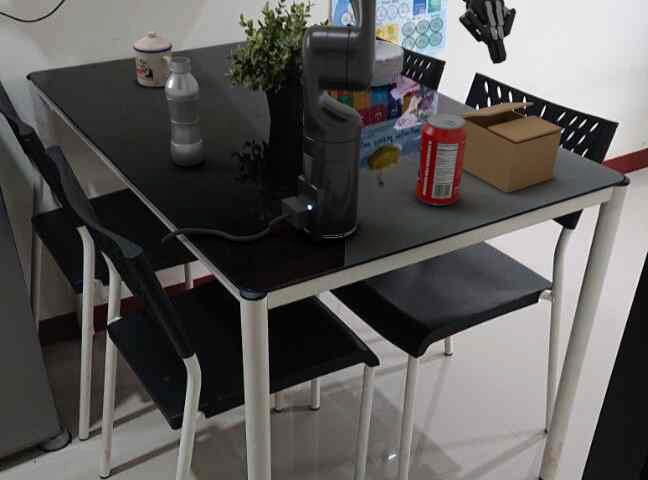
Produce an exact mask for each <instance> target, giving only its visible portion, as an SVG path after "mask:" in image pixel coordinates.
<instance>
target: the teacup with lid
mask: <svg viewBox="0 0 648 480" xmlns="http://www.w3.org/2000/svg"><path fill="white" fill-rule="evenodd" d="M132 48H133V50H134V57H135V67H136V74H137V82H138V84H140V85H141V86H143V87H149V88H161V87H165V85H166V82H167V80H168V78H169V77H170V75H171V74H172V72H171V71H170V59H171V58H173V51H172V48H173V44H172V42H171V40H168V39H167V38H163V37H161V36H159V35H157V34H156V32H155V31H147V33H146V36H144V37H142V38H141V39H137V40H136V41H134V42H133V45H132Z"/></svg>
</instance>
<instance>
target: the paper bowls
mask: <svg viewBox="0 0 648 480" xmlns="http://www.w3.org/2000/svg"><path fill="white" fill-rule="evenodd" d="M404 55H405V51H404V49H403V48H402V46H400V45H398V44H396V43H393V42H391V41H386V40H378V39H376V61H375V72H374V77H373V81H372V84H371V86H370V87H373V88H375V87H382V86H386V85H388V84H389V83H391V82H392V81H393V79H394V77H395V76H398V75H400V74H401V73H402V72H403V69H404Z"/></svg>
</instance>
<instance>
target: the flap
mask: <svg viewBox="0 0 648 480" xmlns="http://www.w3.org/2000/svg"><path fill="white" fill-rule="evenodd" d="M532 105H533V106H534V102H530V101H529V102H503V103H498V104H495V105H491V106H486V107H483V108H478V109H475V110H470V111H467V112H462V113H460V117H466V116H490V115H494V114H498V113H502V112H506V111H510V110H513V111H515V110H518V109H521V108H525V107H530V106H532Z"/></svg>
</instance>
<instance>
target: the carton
mask: <svg viewBox="0 0 648 480" xmlns="http://www.w3.org/2000/svg"><path fill="white" fill-rule="evenodd" d="M461 118H462V119H463V120H464V121H465V124H464V125H465V127H466V129H467V139H466V146H465V154H464V161H463V168H462V170H464V171H466V172H468V173H469V174H471V175H474V176H475V177H477V178H479V179H481V180H483V181H484V182H486V183H488V184H489V185H491V186H493V187H495V188H497V189H499V190H500V191H503V192H504V193H506V194H508V193H511V192H514V191H518V190H520V189H524V188H528V187H531V186H533V185H537V184H539V183H543V182H546V181H549V180H552V178H553V174H554V169H555V165H556V160H557V157H558V156H557V155H558V151H559V146H560V141H561V138H562V133H563V132H562V130H563V127H560V126H559V125H556V124H555V123H552V122H550V121H548V120H545V119H543V118H541V117H538V116H537V115H534V114H533V115H528V116H526V115H524V114H523V113H520V112H518V111H515V110H510V111H506V112H502V113H498V114H494V115H490V116H461Z"/></svg>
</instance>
